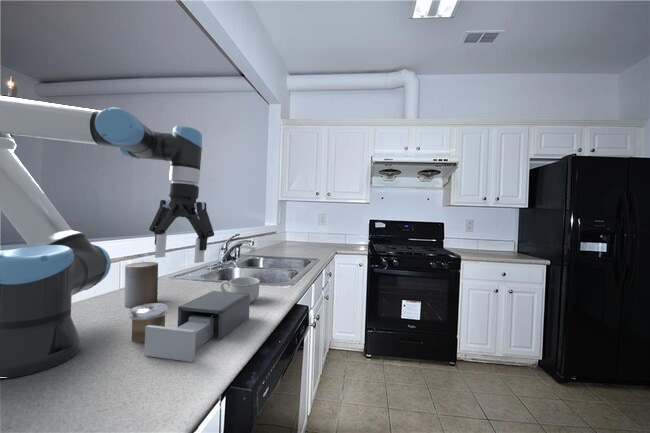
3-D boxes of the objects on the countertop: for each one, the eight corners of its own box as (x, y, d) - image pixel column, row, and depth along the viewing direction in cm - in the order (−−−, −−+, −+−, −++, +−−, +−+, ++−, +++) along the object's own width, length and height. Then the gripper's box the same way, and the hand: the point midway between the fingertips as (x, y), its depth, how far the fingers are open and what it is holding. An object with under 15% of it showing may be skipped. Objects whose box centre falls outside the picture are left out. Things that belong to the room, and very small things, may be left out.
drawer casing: (221, 340, 70) (222, 310, 70) (177, 335, 72) (178, 306, 72) (249, 318, 86) (249, 293, 86) (212, 314, 88) (213, 290, 88)
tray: (191, 361, 59) (192, 332, 59) (144, 355, 61) (145, 326, 61) (222, 337, 72) (223, 312, 72) (182, 332, 74) (183, 308, 74)
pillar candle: (162, 299, 102) (163, 258, 102) (149, 307, 92) (150, 262, 92) (133, 299, 100) (134, 258, 101) (117, 308, 91) (118, 262, 91)
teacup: (263, 298, 107) (263, 277, 107) (253, 307, 96) (253, 284, 96) (228, 296, 108) (228, 275, 108) (214, 305, 98) (215, 282, 98)
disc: (130, 322, 65) (130, 315, 65) (129, 312, 71) (130, 305, 71) (169, 316, 69) (169, 309, 69) (165, 307, 76) (165, 301, 76)
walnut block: (149, 343, 68) (150, 318, 68) (131, 341, 68) (132, 316, 68) (164, 334, 72) (165, 311, 72) (147, 332, 73) (148, 310, 73)
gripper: (230, 187, 78) (225, 262, 78) (161, 184, 85) (156, 253, 85) (212, 183, 71) (206, 266, 71) (138, 180, 78) (132, 256, 78)
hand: (179, 259), depth 78 cm, fingers open, 13 cm apart
